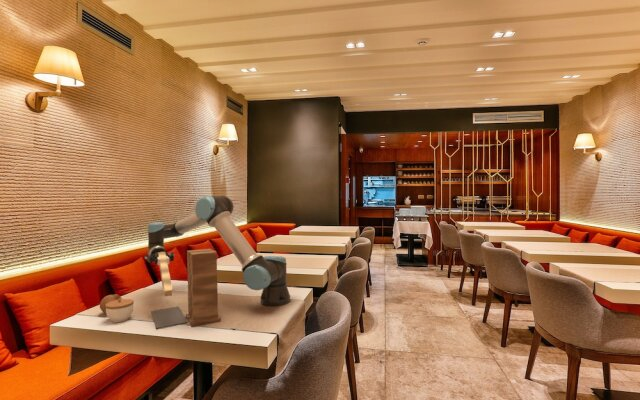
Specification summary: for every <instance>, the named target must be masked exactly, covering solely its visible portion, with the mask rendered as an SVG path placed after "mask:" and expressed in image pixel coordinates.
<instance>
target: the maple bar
mask: <svg viewBox="0 0 640 400" xmlns="http://www.w3.org/2000/svg"><path fill="white" fill-rule="evenodd" d="M158 257H159V258H160V265H158V266H159V273H160V278H161V284H162V289H163V296H164V297H169V296H173V285H172V280H171V279H172V278H171V275H170V274H171V273H170V271H169V264H167V259H166V253H165V252H158Z"/></svg>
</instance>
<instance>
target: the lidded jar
mask: <svg viewBox="0 0 640 400" xmlns="http://www.w3.org/2000/svg"><path fill="white" fill-rule="evenodd" d="M105 307H106V314H105V315H106V317H107V318H108V320H110V321H112V323H122V322H126V321H127V320H129V318H130V317H131V316H132V314H133V311H134V300H133V299H132V298H131V299H130V298H122V299H118V300H115V301H111V302H109V303H107V304H106V305H105Z"/></svg>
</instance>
